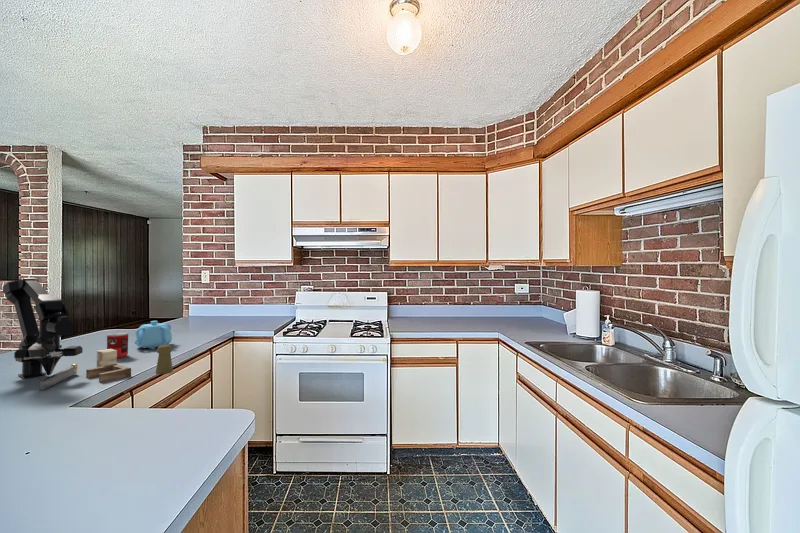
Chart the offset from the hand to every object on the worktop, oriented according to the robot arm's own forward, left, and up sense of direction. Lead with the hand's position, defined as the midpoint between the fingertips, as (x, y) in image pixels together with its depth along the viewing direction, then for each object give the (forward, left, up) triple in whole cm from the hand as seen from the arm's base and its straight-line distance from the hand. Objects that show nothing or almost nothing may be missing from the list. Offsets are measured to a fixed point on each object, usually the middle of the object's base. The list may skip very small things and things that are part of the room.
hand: (49, 374), depth 145 cm
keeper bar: (+6, +1, -2) cm, 6 cm away
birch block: (+1, +18, -2) cm, 18 cm away
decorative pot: (-28, +52, -2) cm, 59 cm away
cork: (+23, +29, -2) cm, 37 cm away
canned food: (-19, +31, -2) cm, 36 cm away
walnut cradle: (+12, +13, -2) cm, 18 cm away
